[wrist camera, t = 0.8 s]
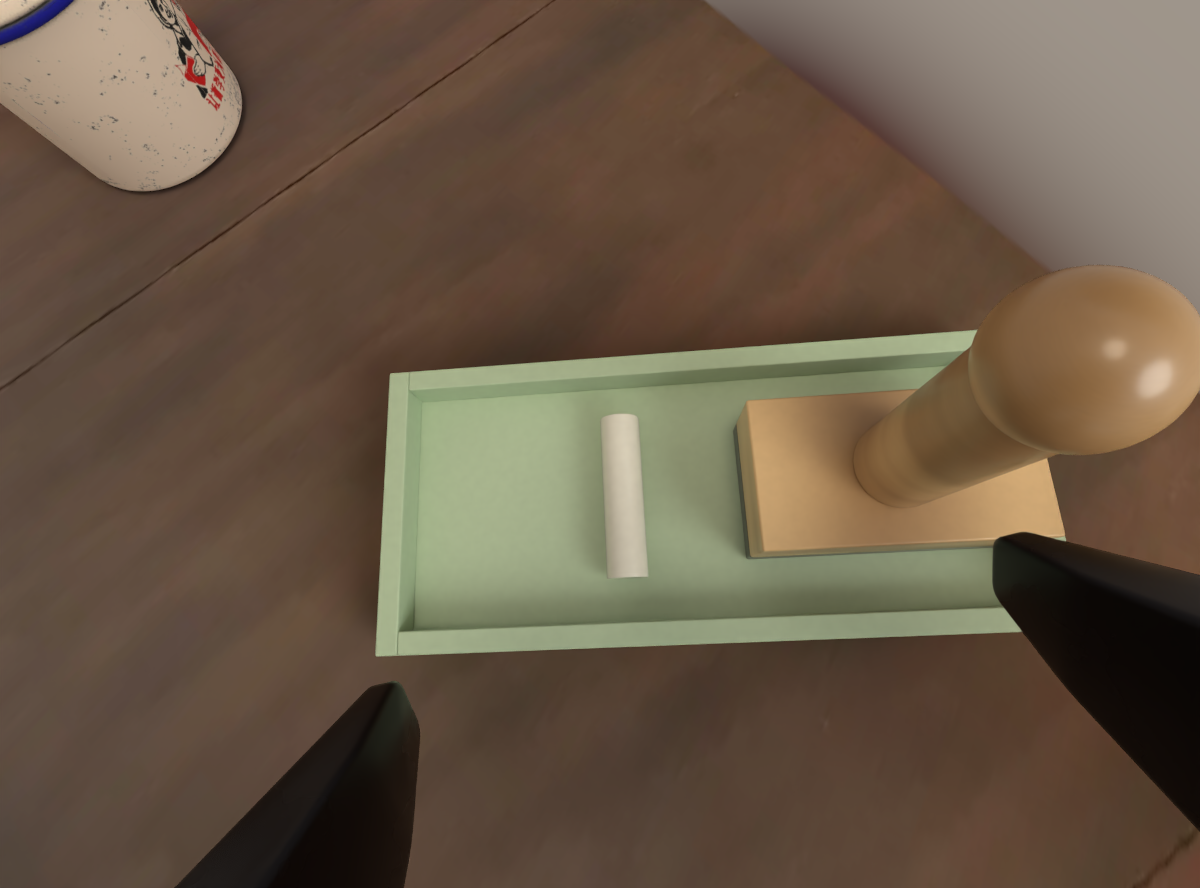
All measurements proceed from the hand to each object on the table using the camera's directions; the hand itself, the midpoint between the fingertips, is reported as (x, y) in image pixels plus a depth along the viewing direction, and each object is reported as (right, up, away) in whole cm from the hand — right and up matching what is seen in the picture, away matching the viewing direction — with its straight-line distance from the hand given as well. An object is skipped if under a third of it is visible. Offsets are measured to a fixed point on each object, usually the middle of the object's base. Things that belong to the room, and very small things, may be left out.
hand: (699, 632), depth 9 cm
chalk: (-1, +1, +14) cm, 14 cm away
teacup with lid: (-25, +20, +23) cm, 39 cm away
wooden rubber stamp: (+8, +1, +14) cm, 16 cm away
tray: (+2, +1, +15) cm, 15 cm away
